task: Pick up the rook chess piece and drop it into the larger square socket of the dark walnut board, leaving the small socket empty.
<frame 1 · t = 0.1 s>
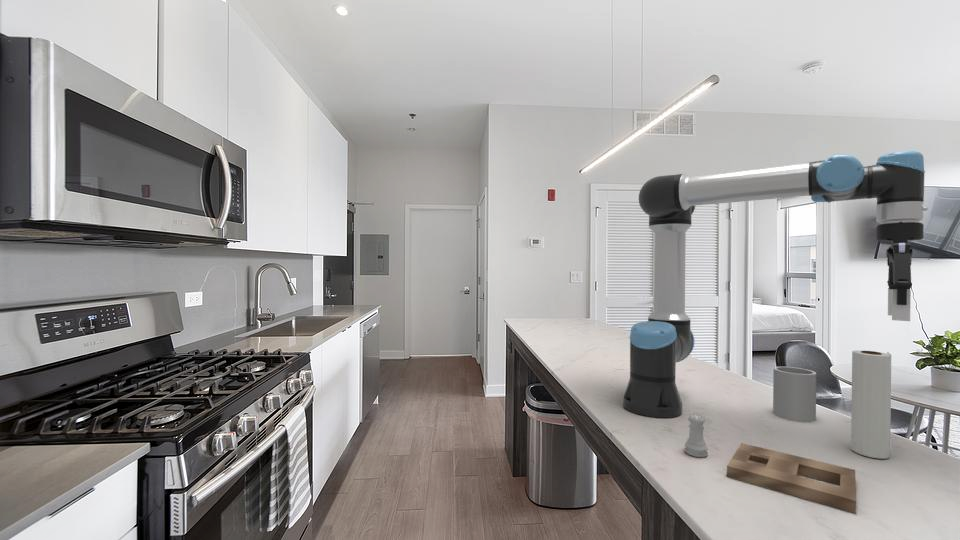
hand: (898, 318, 96), 28 cm above the table, tool pointing down, fingers open, 13 cm apart
rook chess piece: (696, 454, 89), on the table
cup: (793, 416, 113), on the table
socket board: (790, 478, 79), on the table
paper towel roll: (873, 454, 90), on the table
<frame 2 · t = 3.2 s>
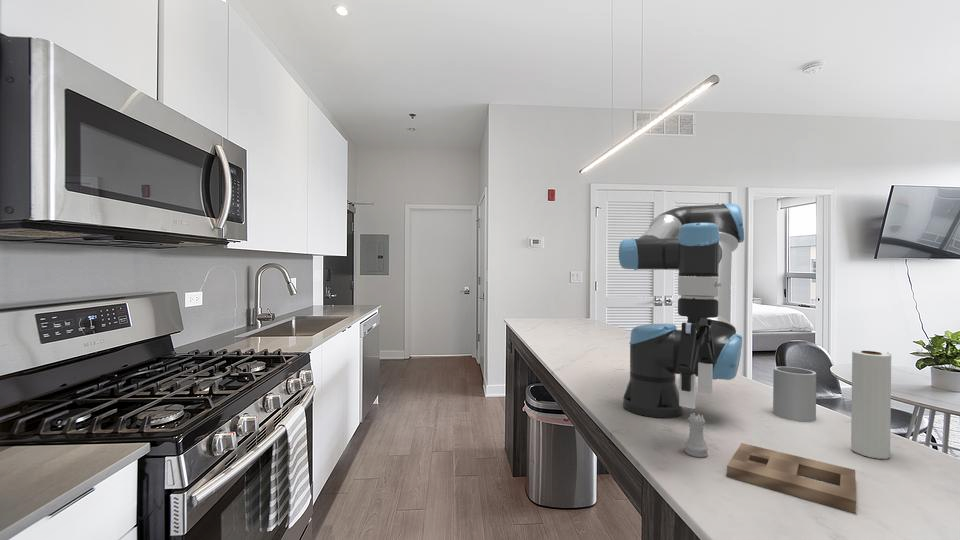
hand: (696, 399, 89), 11 cm above the table, tool pointing down, fingers open, 13 cm apart
nothing on the table moved.
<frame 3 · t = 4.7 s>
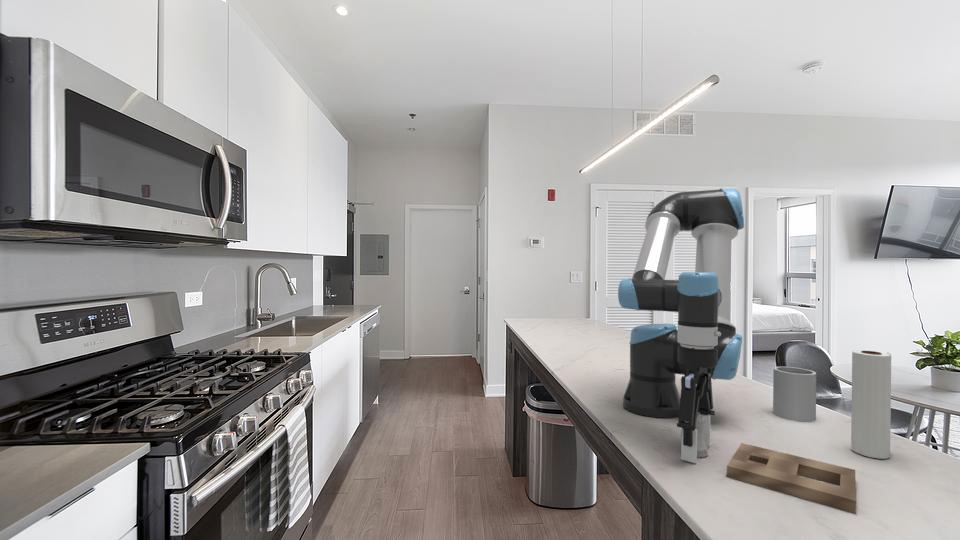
hand: (696, 452, 89), 0 cm above the table, tool pointing down, fingers open, 10 cm apart
nothing on the table moved.
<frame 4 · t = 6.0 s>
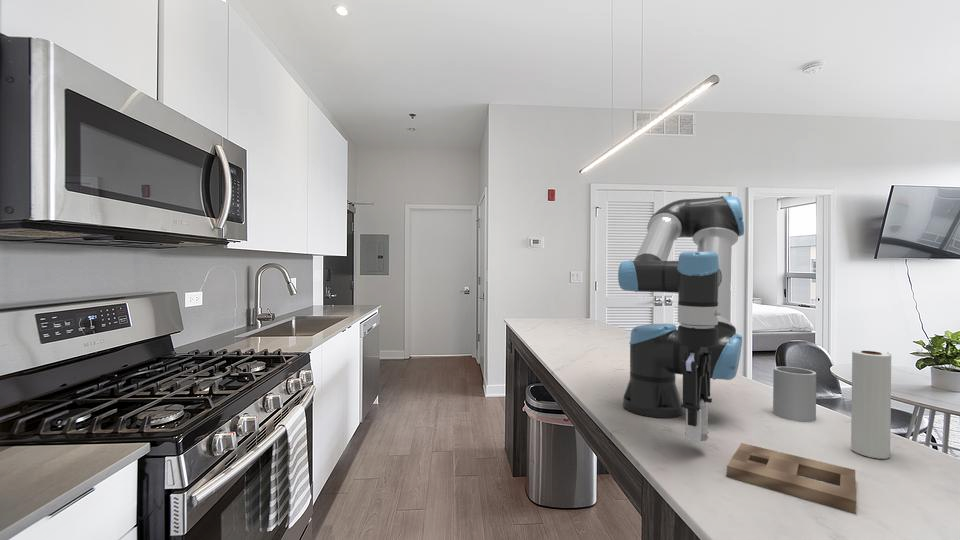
hand: (696, 435, 90), 3 cm above the table, tool pointing down, fingers closed on rook chess piece, 4 cm apart
rook chess piece: (696, 438, 90), point 3 cm above the table, touching gripper
everything else where it was.
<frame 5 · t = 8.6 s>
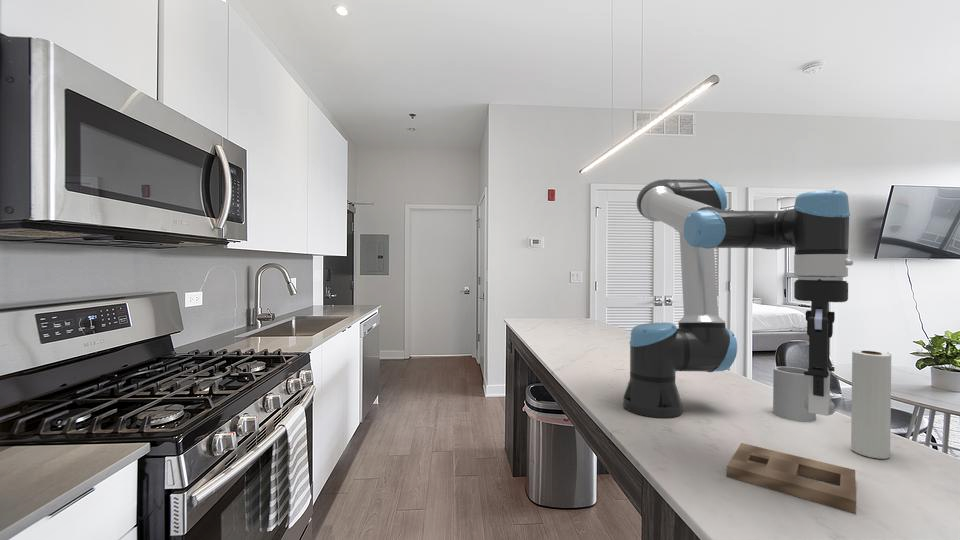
hand: (819, 409, 76), 14 cm above the table, tool pointing down, fingers closed on rook chess piece, 4 cm apart
rook chess piece: (819, 412, 76), point 13 cm above the table, touching gripper
everything else where it was.
when the fingers open (3 cm above the table, at t = 11.0 s): rook chess piece drops 3 cm, resting in socket board.
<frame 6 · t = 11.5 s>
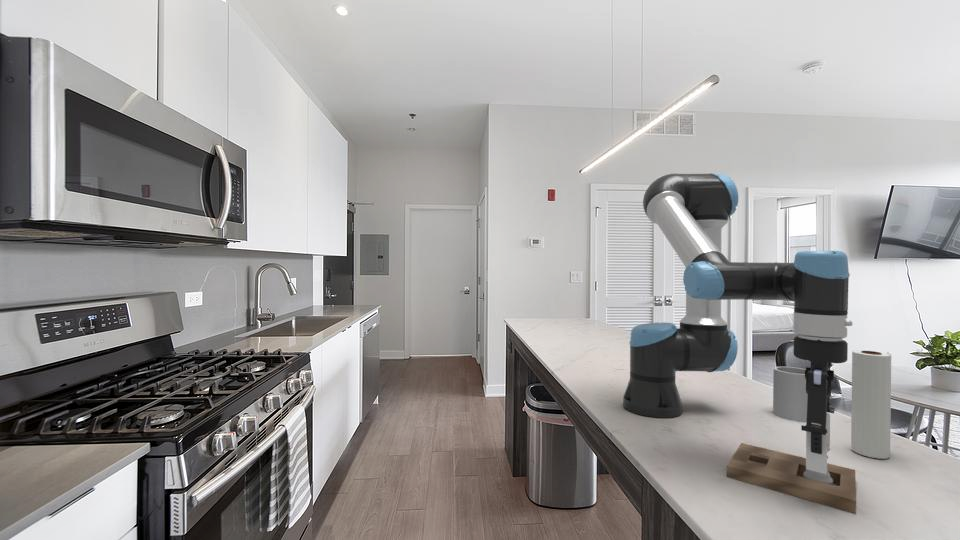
hand: (818, 458, 76), 5 cm above the table, tool pointing down, fingers open, 12 cm apart
rook chess piece: (817, 487, 76), resting in socket board
everything else where it was.
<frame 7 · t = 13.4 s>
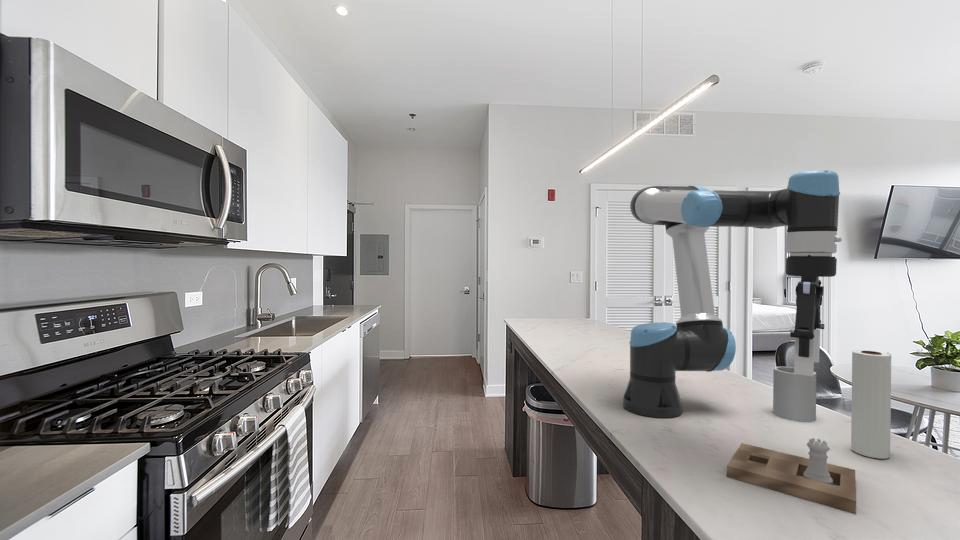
hand: (807, 367, 81), 20 cm above the table, tool pointing down, fingers open, 13 cm apart
nothing on the table moved.
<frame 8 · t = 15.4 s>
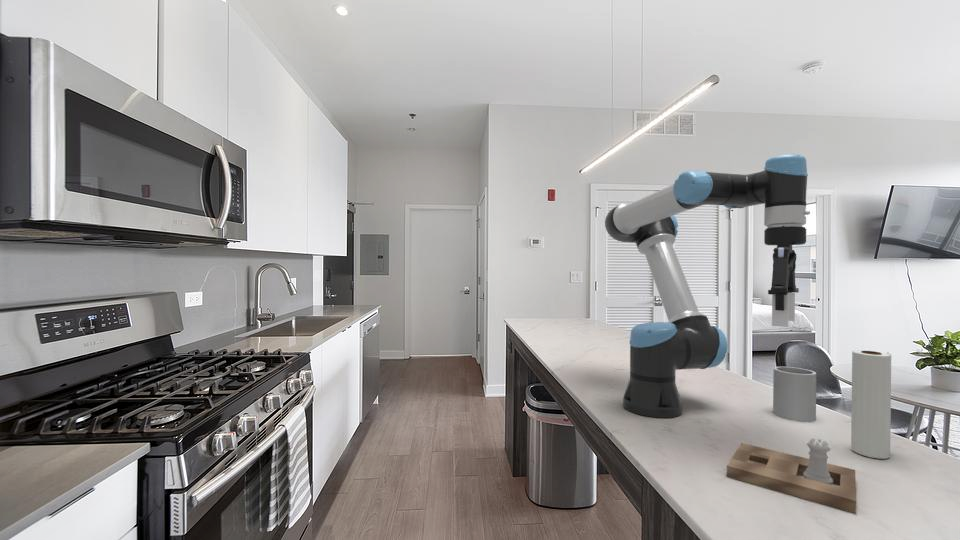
hand: (783, 323, 94), 27 cm above the table, tool pointing down, fingers open, 13 cm apart
nothing on the table moved.
at the end: rook chess piece 0.1 cm from the target spot on the socket board, point 0.0 cm above the socket board's base; rook chess piece tilted 0°; the gripper is holding nothing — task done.
